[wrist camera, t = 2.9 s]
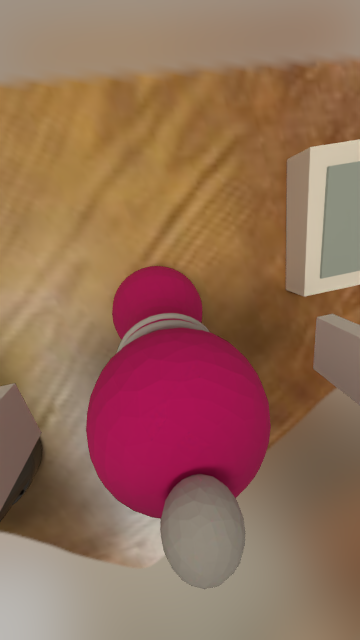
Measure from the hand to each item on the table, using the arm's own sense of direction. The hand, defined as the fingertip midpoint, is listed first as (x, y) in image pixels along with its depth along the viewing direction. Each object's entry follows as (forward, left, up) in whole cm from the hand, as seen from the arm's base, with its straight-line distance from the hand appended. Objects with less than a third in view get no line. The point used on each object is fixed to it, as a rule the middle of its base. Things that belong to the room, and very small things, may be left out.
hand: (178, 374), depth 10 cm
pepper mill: (0, 0, -14) cm, 14 cm away
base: (+20, +4, -14) cm, 24 cm away
